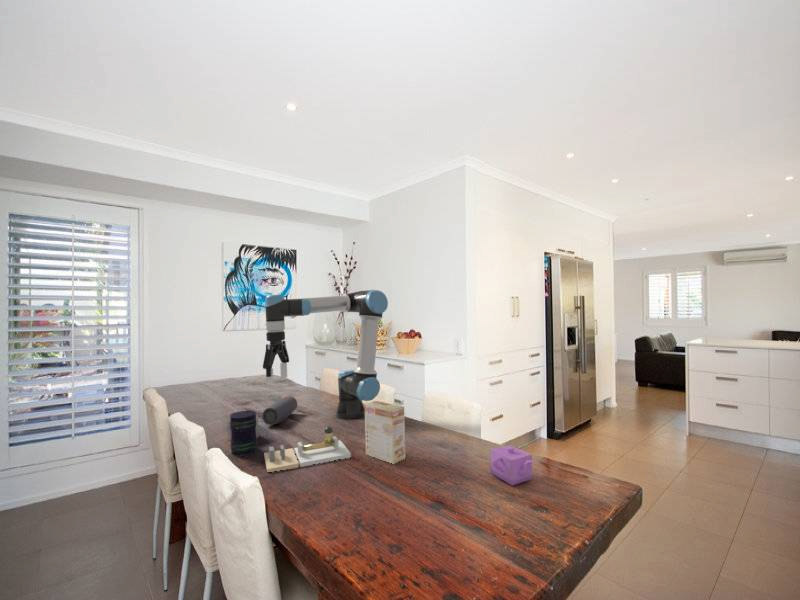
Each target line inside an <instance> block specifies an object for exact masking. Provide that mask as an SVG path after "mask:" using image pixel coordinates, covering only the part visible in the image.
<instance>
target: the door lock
mask: <svg viewBox="0 0 800 600" xmlns="http://www.w3.org/2000/svg"><path fill="white" fill-rule="evenodd" d="M333 441H335V446H332V447H326V448H321V449H315V450H309V451H303V446H304V445H303V444H302V441H298V442H297V447H294V448H293V447H292V448H287V449H286V448H285V445H284V444H280V445H279V450H275V448H274V446H268V452H264V453H263V456H264V457H263V458H264V463H265V467H266V473H267V472H272V473H275V472H274V471H277V472H281V471H280V470H283V471H287V469H288V470H293V469H298V467H299V468H303V467H304V468H305V467H307V466H314V465H313V464H315V465H320V464H323V463H324V462H325V463H329V461H330V462H335V461H334V460H336V461H339V460H338V459H341V460H346V459H350V457H351V458H352V453H351V452H350V450H349V449H348V448H347V447H346V445H345V444H344V442H343V441H341V439H338V438H337V436H336V435H334V436H333ZM295 454H296V455H295ZM345 458H346V459H345ZM297 459H298V460H297ZM319 463H320V464H319Z"/></svg>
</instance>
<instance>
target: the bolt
mask: <svg viewBox="0 0 800 600" xmlns="http://www.w3.org/2000/svg"><path fill="white" fill-rule="evenodd" d="M333 432H334V430H333V428H332V427H331V426H327V427H325V428H324V442H319V443H318V442H317V443H313V444H306V445H303V451H309V450H315V449H321V448H326V447H332V446H335V441H333Z"/></svg>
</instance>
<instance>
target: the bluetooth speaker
mask: <svg viewBox="0 0 800 600" xmlns="http://www.w3.org/2000/svg"><path fill="white" fill-rule="evenodd" d="M297 407H298V402H297V400H296V398H295V397H294V396H291V395H289V396H285V397H283V398H281V399H279V400H277V401H275V402H274V403H272V404H271V405H269V406H268V407H266V408H265V409H264V410H263V413H262V415H261V417H262V421H263V423H265V425H268V426H273V425H276V424H280V422H281V421H282V422H284V421H285V420H287V419H288V417H289V416H290V415H291V414H292V413H293V412H295V410H296V409H297ZM284 419H285V420H284ZM283 420H284V421H283ZM282 422H281V423H282Z"/></svg>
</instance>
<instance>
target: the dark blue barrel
mask: <svg viewBox="0 0 800 600" xmlns="http://www.w3.org/2000/svg"><path fill="white" fill-rule="evenodd" d="M256 414H257V412H256V411H255V410H241V411H236V412H233V413H230V415H229V418H230V419H229V425H230V427H229V429H230V432H231V433H230V436H231V438H230V450H231V451H230V454H231V455H232V456H236V457H241V456H243V455H244V456H248V455H251V454H254V453H256V451H257V450H258V438H257V436H256ZM253 452H254V453H253Z"/></svg>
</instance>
